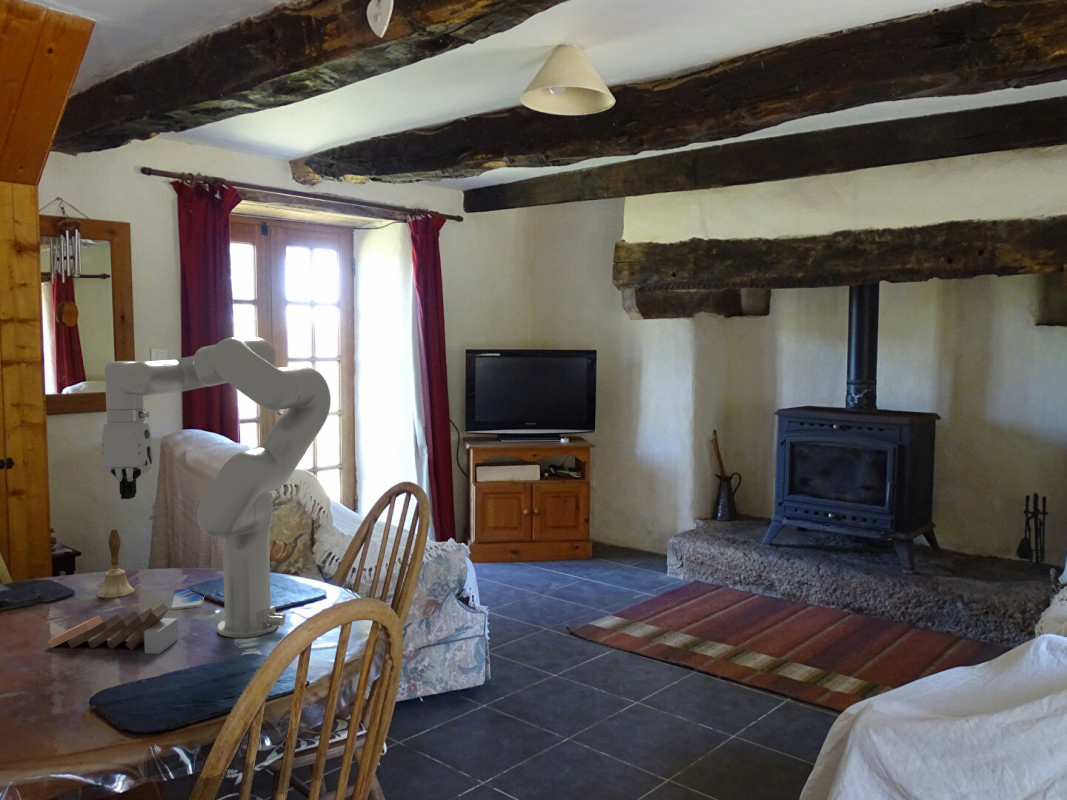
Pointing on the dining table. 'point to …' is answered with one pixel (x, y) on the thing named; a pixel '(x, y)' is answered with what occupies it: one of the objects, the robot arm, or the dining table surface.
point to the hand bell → (115, 573)
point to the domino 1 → (75, 631)
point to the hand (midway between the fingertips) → (128, 497)
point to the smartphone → (186, 599)
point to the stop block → (161, 635)
